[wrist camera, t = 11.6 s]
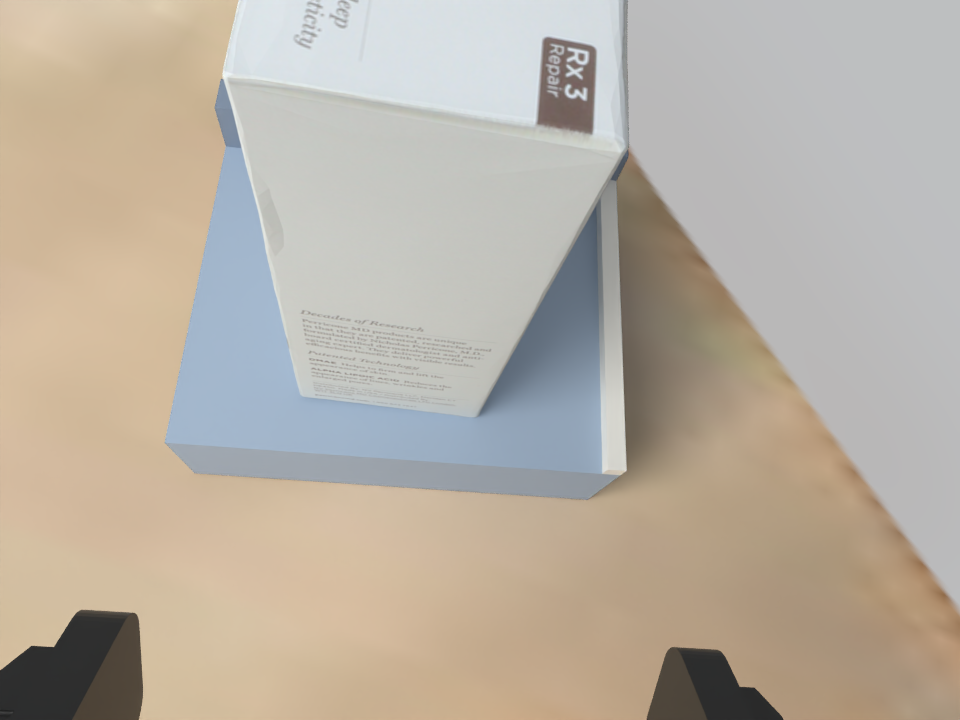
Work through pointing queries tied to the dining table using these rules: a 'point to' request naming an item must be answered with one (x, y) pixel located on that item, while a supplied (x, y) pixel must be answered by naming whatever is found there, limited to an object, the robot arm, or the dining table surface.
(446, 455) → the tray
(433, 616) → the dining table surface
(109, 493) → the dining table surface
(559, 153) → the skincare box
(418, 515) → the dining table surface
